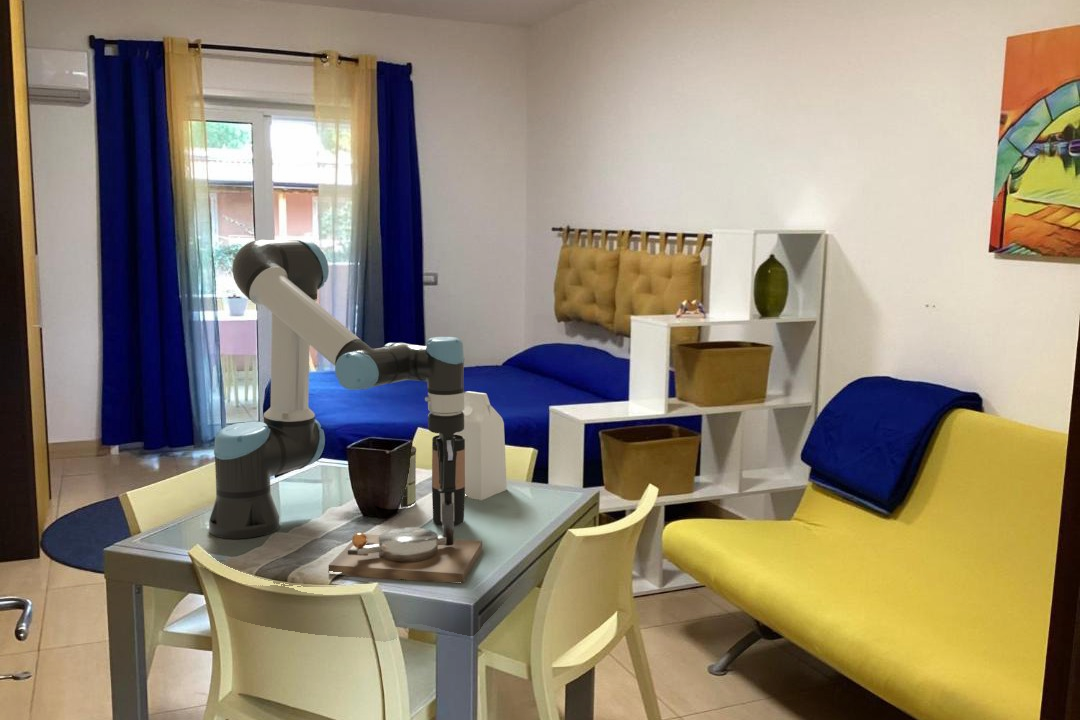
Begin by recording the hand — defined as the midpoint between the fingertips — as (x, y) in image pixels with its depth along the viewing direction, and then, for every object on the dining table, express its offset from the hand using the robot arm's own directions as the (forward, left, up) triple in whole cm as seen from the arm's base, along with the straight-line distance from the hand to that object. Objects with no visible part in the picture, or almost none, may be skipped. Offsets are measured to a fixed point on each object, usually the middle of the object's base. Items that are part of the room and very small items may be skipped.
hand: (447, 520), depth 197 cm
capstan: (-6, -8, -4) cm, 11 cm away
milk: (-3, +45, -7) cm, 46 cm away
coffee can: (-20, +30, -7) cm, 37 cm away
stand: (-6, -8, -7) cm, 12 cm away
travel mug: (-4, +19, -7) cm, 21 cm away
